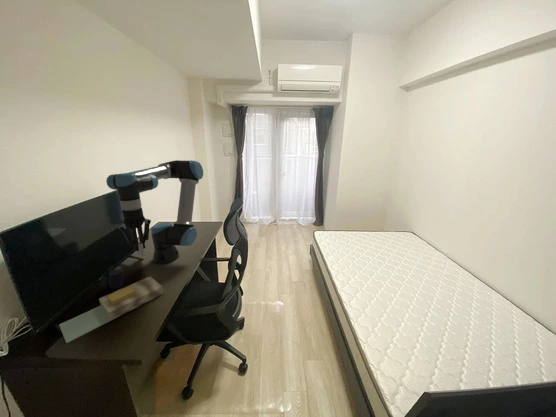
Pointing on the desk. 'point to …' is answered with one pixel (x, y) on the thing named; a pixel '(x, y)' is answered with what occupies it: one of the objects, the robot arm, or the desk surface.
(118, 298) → the yellow flat block
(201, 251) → the desk surface
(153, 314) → the desk surface
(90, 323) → the mat
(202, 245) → the desk surface
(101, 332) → the desk surface
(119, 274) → the speaker
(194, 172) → the robot arm
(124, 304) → the deck
